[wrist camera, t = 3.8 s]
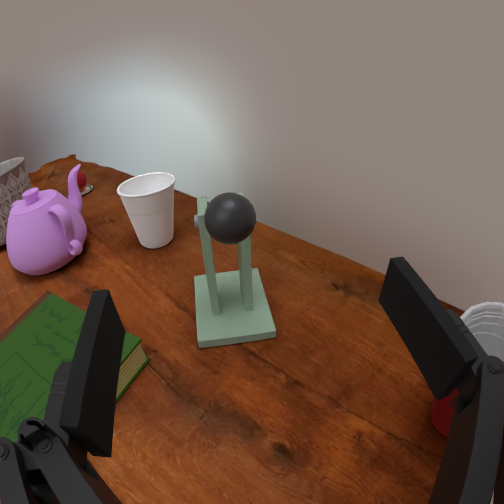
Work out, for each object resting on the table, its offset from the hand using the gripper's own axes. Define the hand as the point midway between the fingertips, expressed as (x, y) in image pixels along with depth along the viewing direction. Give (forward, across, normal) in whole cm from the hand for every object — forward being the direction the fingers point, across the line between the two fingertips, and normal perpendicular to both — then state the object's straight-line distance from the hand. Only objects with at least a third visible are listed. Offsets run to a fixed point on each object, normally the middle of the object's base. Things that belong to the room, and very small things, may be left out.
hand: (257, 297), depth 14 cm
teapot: (+39, -33, -19) cm, 55 cm away
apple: (+69, -38, -19) cm, 81 cm away
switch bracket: (+19, 0, -19) cm, 27 cm away
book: (+6, -25, -19) cm, 32 cm away
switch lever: (+13, 0, -5) cm, 14 cm away
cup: (+38, -12, -19) cm, 44 cm away
